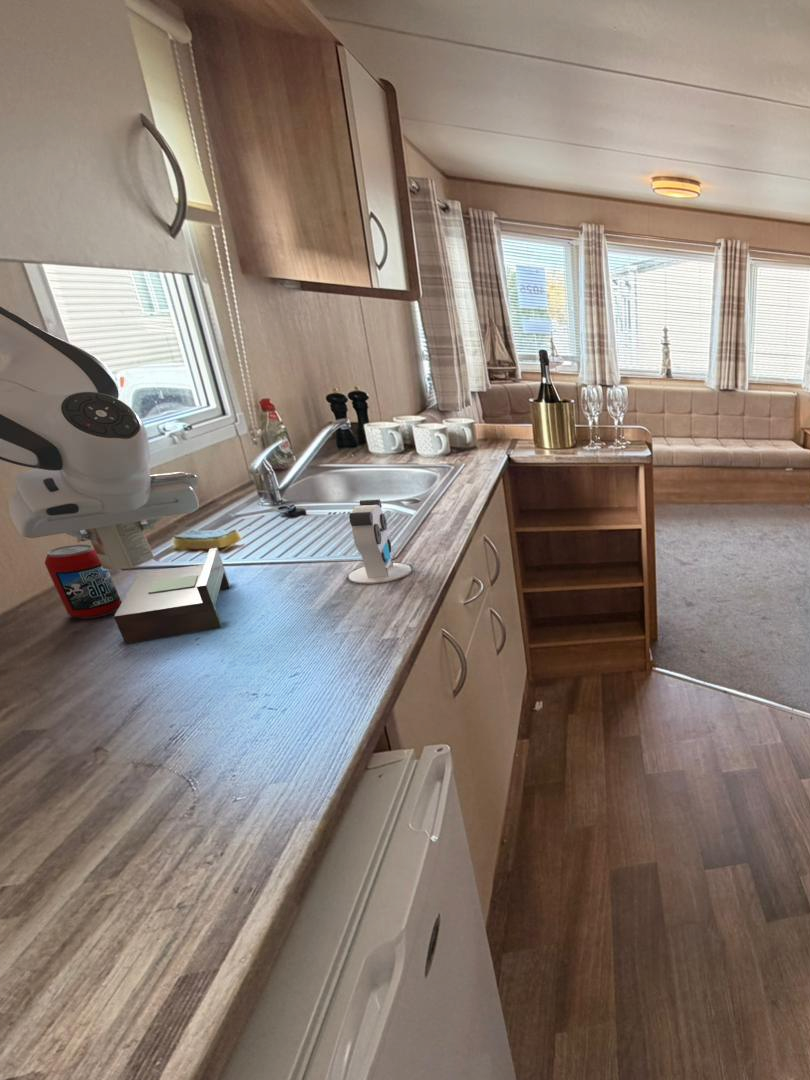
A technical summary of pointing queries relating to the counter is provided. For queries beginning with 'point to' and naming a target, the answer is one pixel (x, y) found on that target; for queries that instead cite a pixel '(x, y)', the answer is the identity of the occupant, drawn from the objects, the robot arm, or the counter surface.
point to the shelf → (173, 601)
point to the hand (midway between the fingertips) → (114, 532)
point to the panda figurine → (373, 545)
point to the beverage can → (82, 581)
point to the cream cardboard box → (120, 545)
